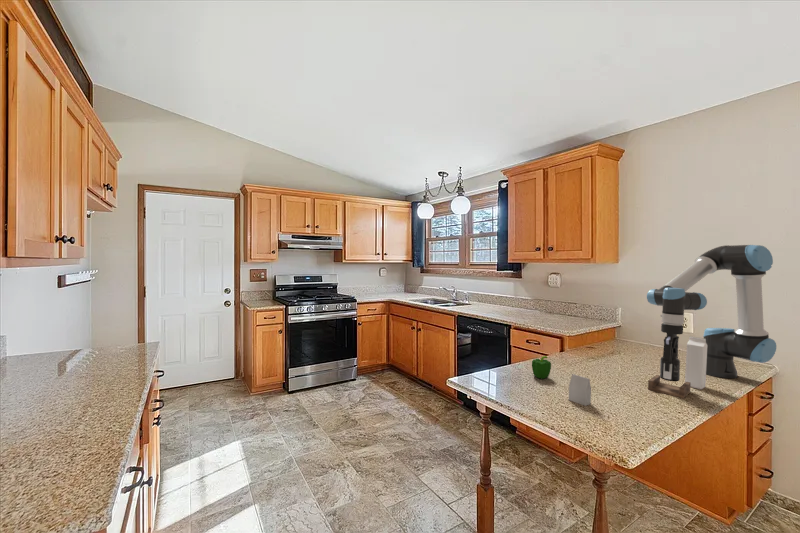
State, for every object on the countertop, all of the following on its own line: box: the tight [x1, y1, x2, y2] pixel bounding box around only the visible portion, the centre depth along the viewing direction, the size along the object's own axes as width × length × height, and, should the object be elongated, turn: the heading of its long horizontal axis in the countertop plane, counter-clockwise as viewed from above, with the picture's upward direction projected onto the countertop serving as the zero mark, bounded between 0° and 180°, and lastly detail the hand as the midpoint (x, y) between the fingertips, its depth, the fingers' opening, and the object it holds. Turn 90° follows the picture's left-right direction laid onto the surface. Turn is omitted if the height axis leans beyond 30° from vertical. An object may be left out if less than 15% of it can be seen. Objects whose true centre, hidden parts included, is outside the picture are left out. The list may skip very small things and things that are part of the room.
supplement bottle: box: [659, 351, 681, 382], centre depth 157 cm, size 7×7×12 cm
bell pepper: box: [531, 355, 552, 379], centre depth 170 cm, size 8×8×10 cm
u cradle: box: [647, 374, 691, 399], centre depth 158 cm, size 12×12×4 cm
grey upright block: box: [568, 373, 592, 407], centre depth 142 cm, size 4×7×10 cm, turn 35°
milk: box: [684, 336, 707, 390], centre depth 164 cm, size 6×6×22 cm
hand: (669, 376), depth 157 cm, fingers closed on supplement bottle, 7 cm apart
